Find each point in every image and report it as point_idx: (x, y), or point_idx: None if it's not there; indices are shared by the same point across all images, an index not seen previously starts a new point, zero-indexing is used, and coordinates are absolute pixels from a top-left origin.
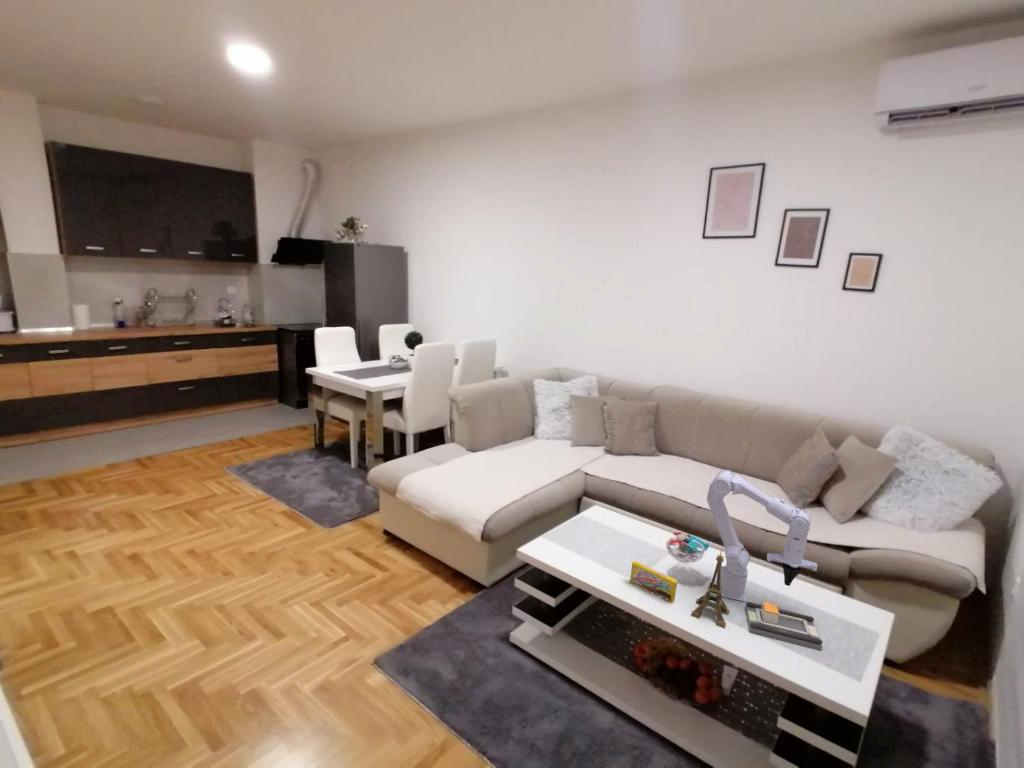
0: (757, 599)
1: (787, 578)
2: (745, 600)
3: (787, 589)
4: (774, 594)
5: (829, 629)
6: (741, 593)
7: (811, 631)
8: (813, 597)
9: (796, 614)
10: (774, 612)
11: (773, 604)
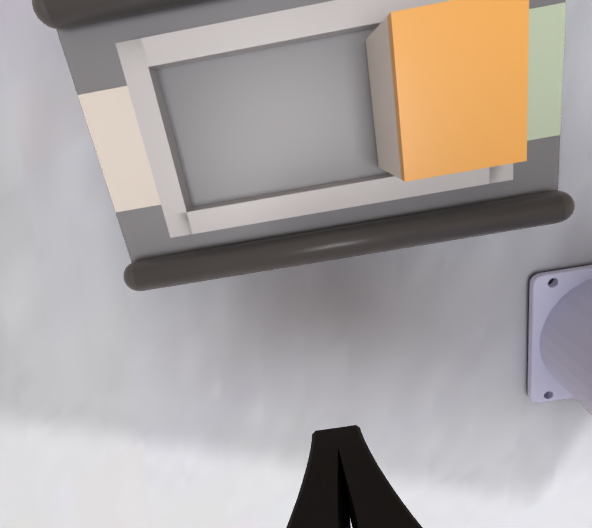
0: (450, 345)
1: (370, 495)
2: (536, 281)
3: (286, 515)
4: None
5: (52, 279)
6: (585, 309)
7: (129, 137)
8: (161, 515)
9: (232, 256)
10: (435, 11)
11: (433, 162)
